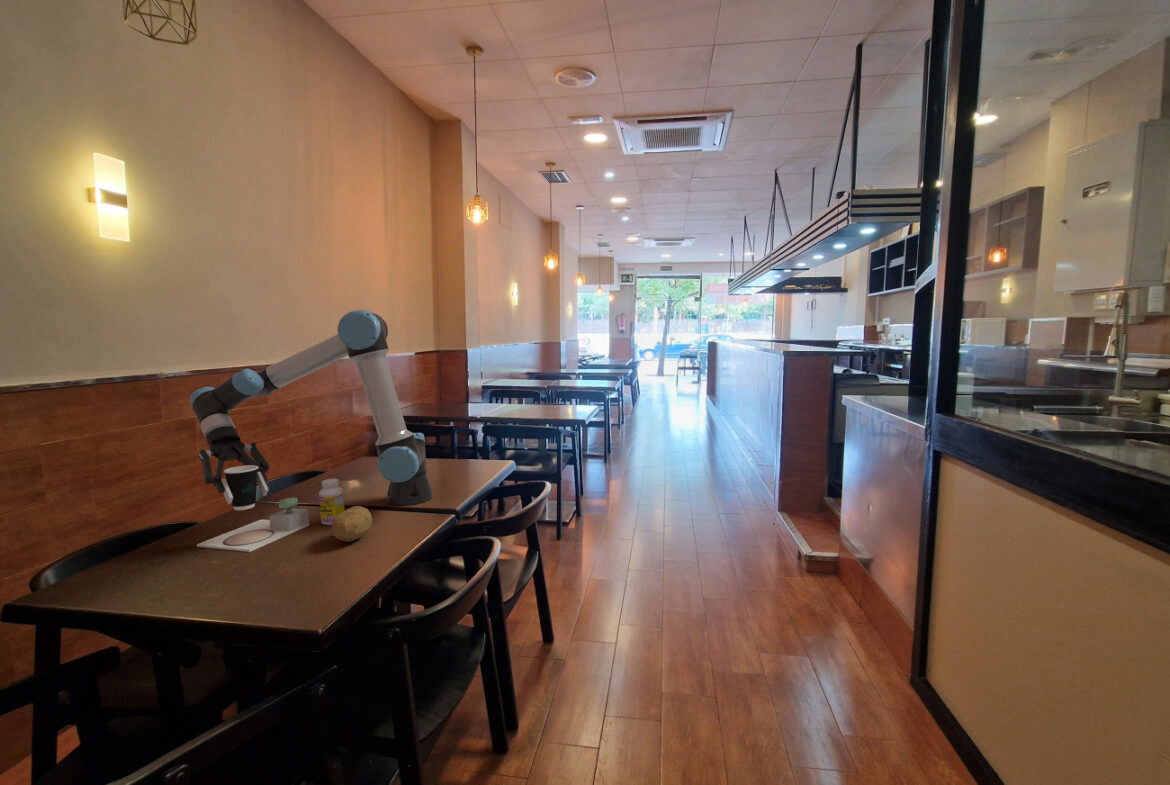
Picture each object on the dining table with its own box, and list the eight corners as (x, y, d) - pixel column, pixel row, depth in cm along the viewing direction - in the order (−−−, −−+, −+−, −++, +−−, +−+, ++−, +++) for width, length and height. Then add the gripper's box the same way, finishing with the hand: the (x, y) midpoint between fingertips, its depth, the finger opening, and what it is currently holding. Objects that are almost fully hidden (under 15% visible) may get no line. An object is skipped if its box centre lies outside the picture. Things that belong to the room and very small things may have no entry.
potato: (322, 550, 132) (319, 520, 131) (345, 530, 146) (343, 503, 145) (359, 548, 132) (357, 519, 132) (379, 529, 146) (377, 502, 146)
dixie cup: (236, 504, 143) (232, 466, 142) (266, 502, 145) (263, 464, 144) (221, 513, 136) (217, 472, 135) (253, 511, 137) (250, 471, 136)
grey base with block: (310, 524, 152) (309, 509, 152) (249, 551, 132) (248, 534, 132) (262, 520, 157) (261, 506, 156) (196, 546, 137) (195, 530, 137)
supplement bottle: (315, 524, 152) (312, 482, 151) (334, 517, 158) (331, 476, 157) (332, 526, 150) (329, 484, 148) (350, 519, 156) (347, 478, 155)
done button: (302, 518, 151) (301, 498, 151) (289, 523, 146) (287, 503, 146) (289, 517, 152) (288, 497, 152) (276, 522, 148) (274, 502, 147)
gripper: (257, 435, 156) (285, 495, 148) (173, 447, 139) (200, 515, 131) (263, 420, 152) (292, 480, 144) (178, 430, 136) (206, 498, 128)
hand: (248, 496), depth 138 cm, fingers closed on dixie cup, 8 cm apart
